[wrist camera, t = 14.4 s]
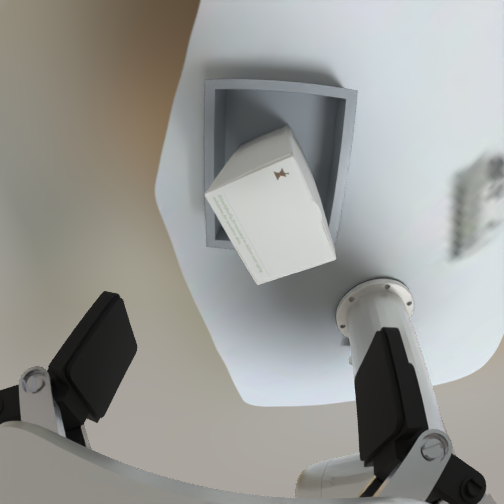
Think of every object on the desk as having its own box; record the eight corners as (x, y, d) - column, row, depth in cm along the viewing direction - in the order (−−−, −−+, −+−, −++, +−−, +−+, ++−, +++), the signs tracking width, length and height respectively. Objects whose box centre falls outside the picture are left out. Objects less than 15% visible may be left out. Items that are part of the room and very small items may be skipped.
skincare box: (238, 145, 31) (195, 189, 18) (292, 121, 29) (293, 147, 16) (269, 208, 35) (252, 289, 22) (321, 188, 33) (339, 262, 19)
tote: (327, 234, 37) (332, 259, 31) (218, 223, 38) (206, 246, 33) (346, 90, 27) (357, 90, 22) (219, 81, 28) (204, 79, 23)
